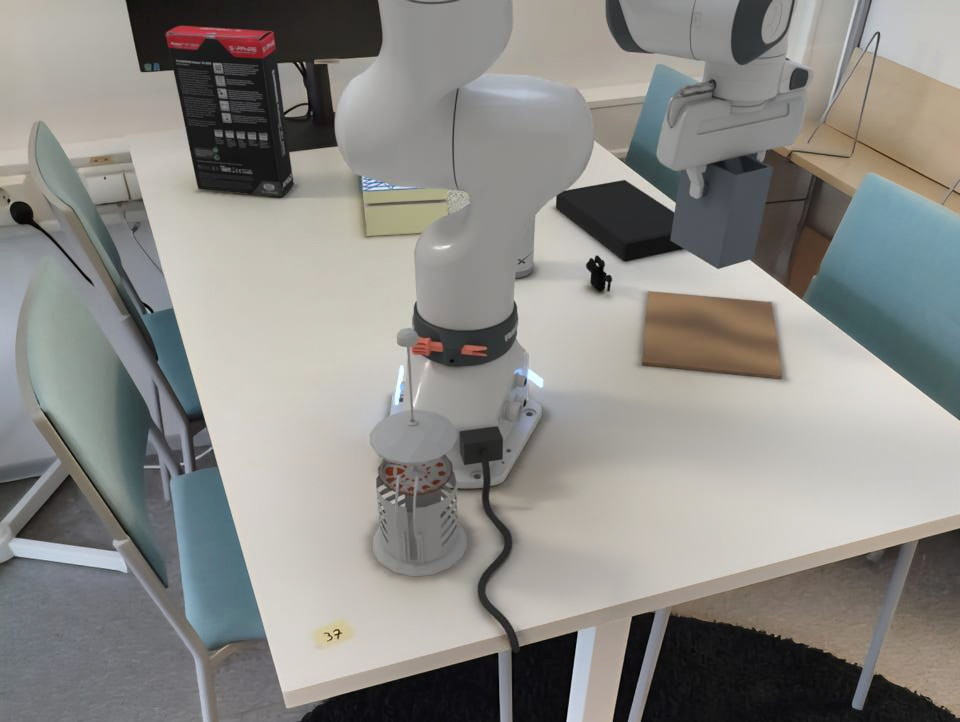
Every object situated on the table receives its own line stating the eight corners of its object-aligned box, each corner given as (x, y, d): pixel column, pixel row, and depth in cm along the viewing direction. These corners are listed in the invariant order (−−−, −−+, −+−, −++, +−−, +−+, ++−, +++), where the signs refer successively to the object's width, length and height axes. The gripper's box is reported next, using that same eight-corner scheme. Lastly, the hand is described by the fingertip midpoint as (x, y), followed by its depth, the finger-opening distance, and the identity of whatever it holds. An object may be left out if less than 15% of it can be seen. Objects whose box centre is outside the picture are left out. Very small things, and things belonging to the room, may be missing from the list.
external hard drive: (623, 195, 159) (625, 179, 157) (698, 245, 142) (701, 228, 141) (555, 208, 154) (556, 192, 152) (624, 261, 138) (626, 244, 136)
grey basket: (773, 167, 104) (720, 143, 111) (735, 176, 102) (683, 151, 109) (753, 258, 112) (704, 231, 118) (717, 269, 110) (670, 240, 116)
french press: (471, 511, 92) (470, 303, 76) (460, 593, 83) (456, 376, 67) (380, 506, 93) (360, 299, 77) (360, 586, 84) (332, 370, 68)
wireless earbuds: (612, 298, 129) (616, 267, 125) (597, 301, 128) (600, 269, 125) (591, 277, 134) (594, 247, 130) (577, 280, 133) (579, 249, 130)
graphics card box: (297, 185, 162) (275, 26, 145) (284, 199, 157) (260, 36, 140) (211, 179, 165) (180, 22, 147) (196, 193, 159) (161, 32, 142)
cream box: (451, 231, 147) (450, 171, 140) (363, 236, 145) (358, 175, 138) (426, 141, 181) (424, 89, 174) (355, 144, 179) (350, 92, 173)
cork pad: (781, 379, 112) (782, 375, 112) (642, 364, 115) (642, 361, 114) (770, 304, 127) (771, 301, 127) (647, 293, 130) (648, 290, 129)
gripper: (689, 95, 94) (671, 216, 103) (825, 69, 102) (797, 184, 111) (654, 80, 99) (639, 197, 107) (786, 56, 106) (762, 168, 115)
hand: (720, 190), depth 109 cm, fingers closed on grey basket, 6 cm apart
